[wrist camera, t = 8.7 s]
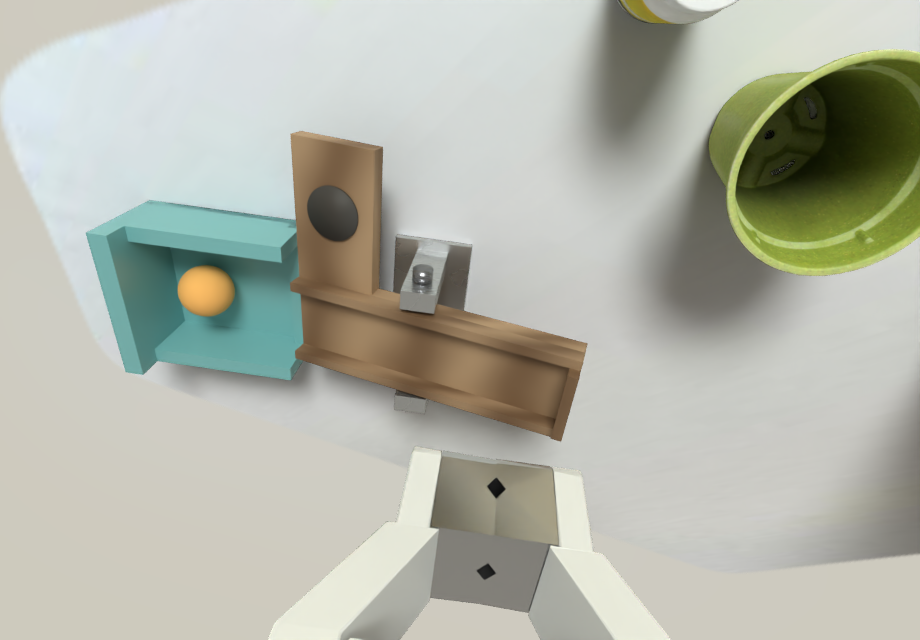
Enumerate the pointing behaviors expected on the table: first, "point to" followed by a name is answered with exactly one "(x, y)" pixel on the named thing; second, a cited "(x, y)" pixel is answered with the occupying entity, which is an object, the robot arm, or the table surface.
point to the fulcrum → (428, 286)
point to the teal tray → (174, 253)
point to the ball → (206, 290)
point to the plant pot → (825, 163)
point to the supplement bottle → (673, 10)
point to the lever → (403, 331)
